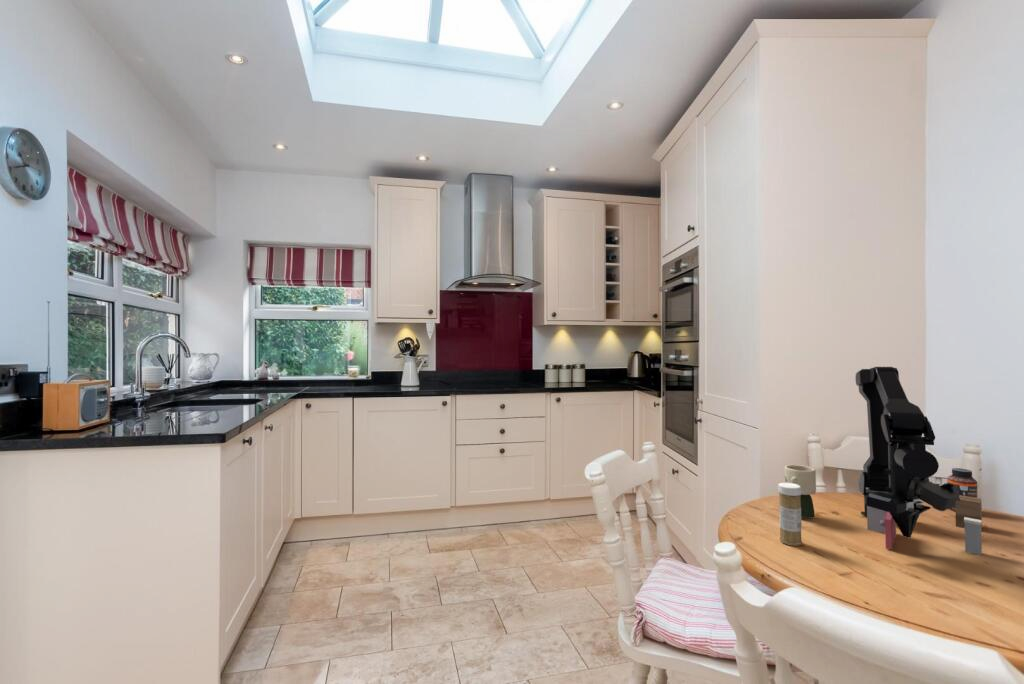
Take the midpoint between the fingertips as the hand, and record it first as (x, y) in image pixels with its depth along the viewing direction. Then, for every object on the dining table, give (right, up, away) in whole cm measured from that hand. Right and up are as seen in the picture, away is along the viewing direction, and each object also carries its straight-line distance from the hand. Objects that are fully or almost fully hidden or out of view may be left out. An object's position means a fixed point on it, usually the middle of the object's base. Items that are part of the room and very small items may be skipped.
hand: (906, 536), depth 103 cm
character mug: (-10, -4, +21) cm, 24 cm away
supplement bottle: (+36, -3, +24) cm, 44 cm away
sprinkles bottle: (-23, -4, +5) cm, 24 cm away
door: (0, -3, +5) cm, 5 cm away
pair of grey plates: (+8, -3, +5) cm, 10 cm away
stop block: (+27, -3, +13) cm, 30 cm away
